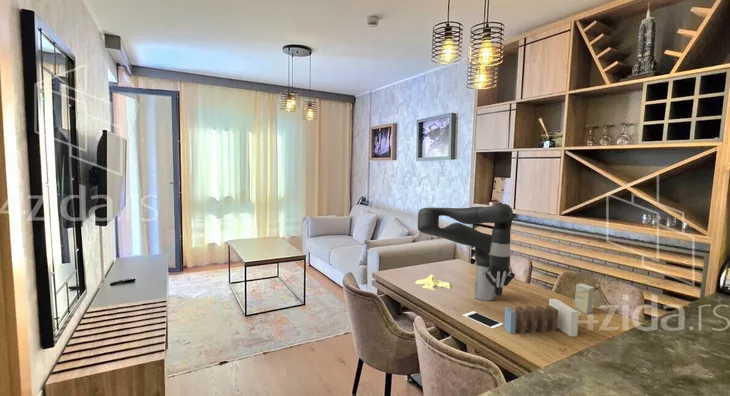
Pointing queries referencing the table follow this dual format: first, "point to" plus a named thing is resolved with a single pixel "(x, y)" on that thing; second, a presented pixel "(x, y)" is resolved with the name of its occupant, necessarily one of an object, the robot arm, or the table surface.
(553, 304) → the block
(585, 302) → the skincare box
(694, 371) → the table surface
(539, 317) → the walnut domino
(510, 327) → the slate domino
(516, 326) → the walnut domino
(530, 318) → the walnut domino
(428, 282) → the cloth
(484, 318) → the cell phone
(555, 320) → the walnut domino
